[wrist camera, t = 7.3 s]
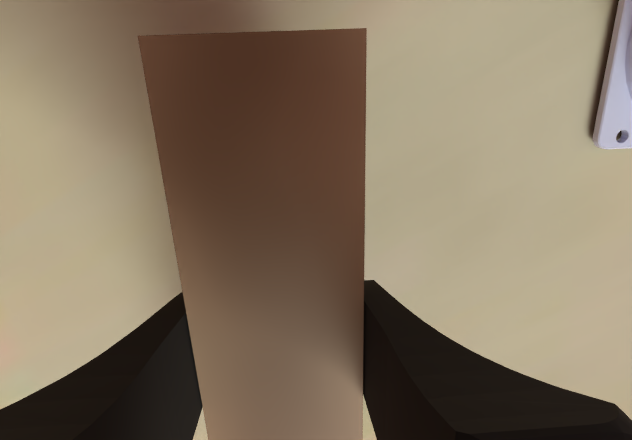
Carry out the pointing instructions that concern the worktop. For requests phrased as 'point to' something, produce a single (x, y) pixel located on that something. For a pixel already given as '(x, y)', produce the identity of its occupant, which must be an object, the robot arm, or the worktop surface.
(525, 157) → the worktop surface
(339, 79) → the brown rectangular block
